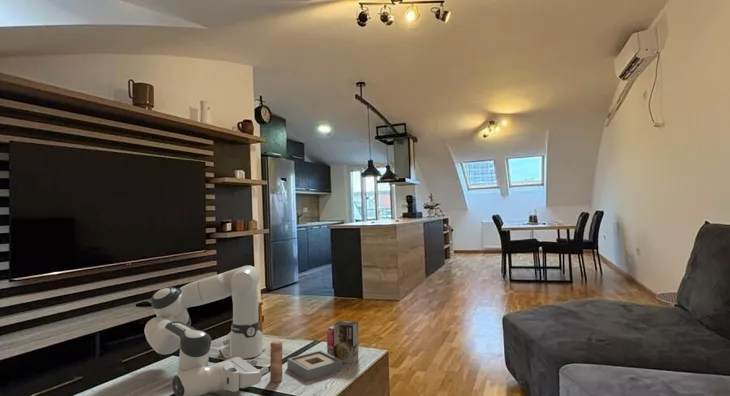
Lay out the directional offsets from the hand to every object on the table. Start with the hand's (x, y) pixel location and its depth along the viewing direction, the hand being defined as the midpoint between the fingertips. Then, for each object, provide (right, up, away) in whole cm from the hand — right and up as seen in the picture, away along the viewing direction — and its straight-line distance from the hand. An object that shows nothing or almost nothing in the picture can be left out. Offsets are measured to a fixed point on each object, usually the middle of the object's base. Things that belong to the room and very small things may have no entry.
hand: (262, 365), depth 150 cm
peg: (+4, -7, +4) cm, 9 cm away
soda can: (+25, -9, +33) cm, 42 cm away
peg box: (+18, -8, +14) cm, 24 cm away
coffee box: (+30, -8, +25) cm, 40 cm away
